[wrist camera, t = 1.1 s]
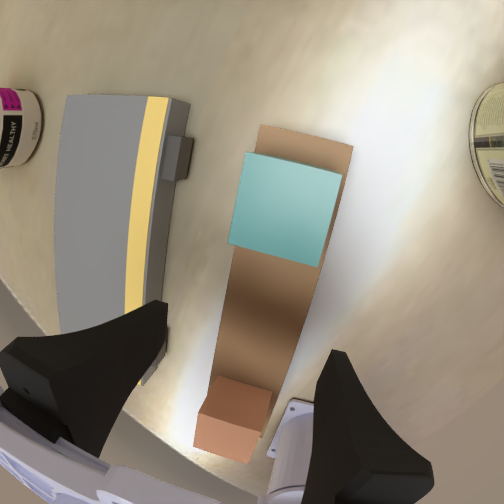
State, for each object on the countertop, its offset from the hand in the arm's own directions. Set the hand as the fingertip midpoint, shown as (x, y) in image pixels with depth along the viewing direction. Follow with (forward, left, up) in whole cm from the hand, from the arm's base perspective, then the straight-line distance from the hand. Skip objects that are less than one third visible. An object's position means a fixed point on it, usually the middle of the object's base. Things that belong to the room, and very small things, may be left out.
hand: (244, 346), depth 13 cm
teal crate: (+6, 0, -6) cm, 8 cm away
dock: (-2, +14, -11) cm, 18 cm away
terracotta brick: (-10, 0, -6) cm, 11 cm away
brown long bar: (-2, 0, -11) cm, 11 cm away
